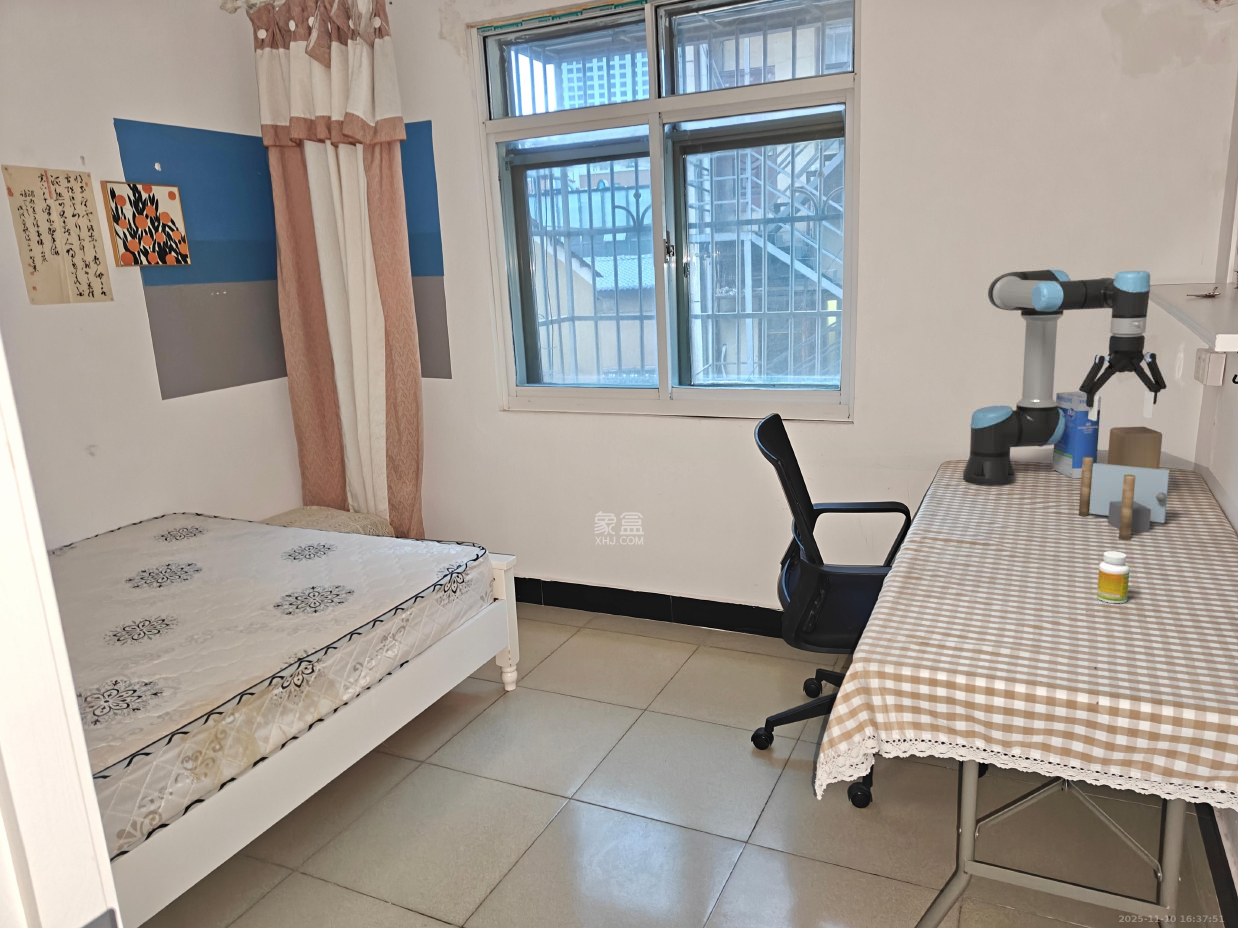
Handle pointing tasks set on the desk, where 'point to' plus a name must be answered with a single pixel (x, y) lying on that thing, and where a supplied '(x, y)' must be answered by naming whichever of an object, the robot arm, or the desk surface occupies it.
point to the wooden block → (1135, 447)
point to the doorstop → (1138, 516)
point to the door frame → (1126, 498)
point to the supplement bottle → (1113, 578)
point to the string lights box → (1075, 434)
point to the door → (1146, 492)
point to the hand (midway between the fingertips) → (1119, 418)
